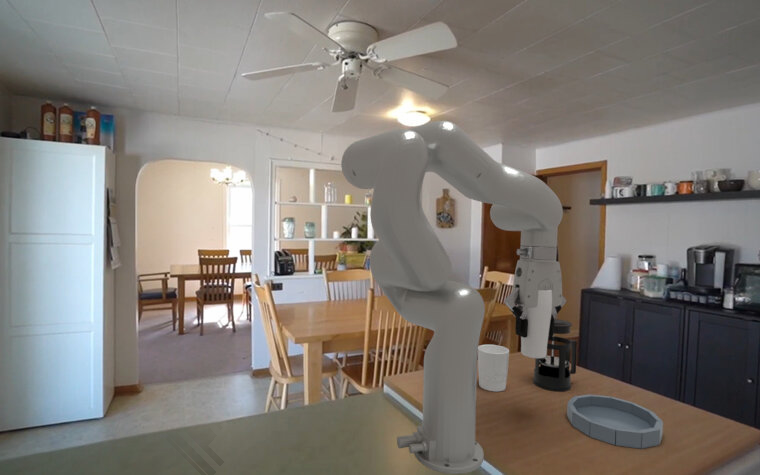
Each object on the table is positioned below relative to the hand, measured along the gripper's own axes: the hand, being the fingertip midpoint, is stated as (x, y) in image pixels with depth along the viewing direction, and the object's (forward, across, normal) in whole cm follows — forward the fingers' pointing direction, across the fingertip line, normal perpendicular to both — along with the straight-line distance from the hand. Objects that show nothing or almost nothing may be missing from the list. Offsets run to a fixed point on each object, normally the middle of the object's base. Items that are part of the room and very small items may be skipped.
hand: (534, 334), depth 89 cm
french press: (+18, +18, +13) cm, 29 cm away
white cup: (+18, +1, +16) cm, 24 cm away
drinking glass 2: (+5, 0, 0) cm, 5 cm away
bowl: (+18, +14, -9) cm, 24 cm away
